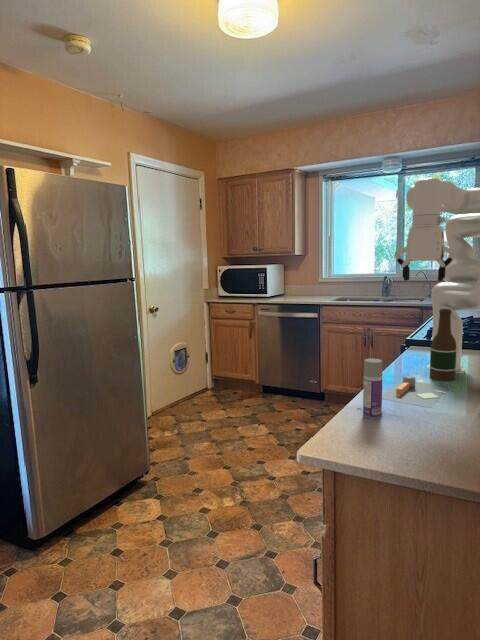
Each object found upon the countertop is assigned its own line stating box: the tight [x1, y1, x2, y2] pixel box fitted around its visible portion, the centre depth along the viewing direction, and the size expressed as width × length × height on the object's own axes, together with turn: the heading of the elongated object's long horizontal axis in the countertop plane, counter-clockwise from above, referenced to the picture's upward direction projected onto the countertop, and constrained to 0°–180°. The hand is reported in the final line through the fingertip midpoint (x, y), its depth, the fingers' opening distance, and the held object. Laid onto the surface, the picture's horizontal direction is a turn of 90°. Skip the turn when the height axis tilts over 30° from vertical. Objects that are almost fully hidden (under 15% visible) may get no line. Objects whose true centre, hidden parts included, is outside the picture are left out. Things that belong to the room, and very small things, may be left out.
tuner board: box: [382, 379, 450, 408], centre depth 128 cm, size 22×14×1 cm, turn 143°
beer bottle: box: [429, 309, 456, 382], centre depth 140 cm, size 8×8×24 cm
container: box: [362, 357, 383, 420], centre depth 113 cm, size 5×5×15 cm
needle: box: [396, 375, 416, 395], centre depth 129 cm, size 12×4×3 cm, turn 142°
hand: (423, 280), depth 129 cm, fingers open, 9 cm apart
